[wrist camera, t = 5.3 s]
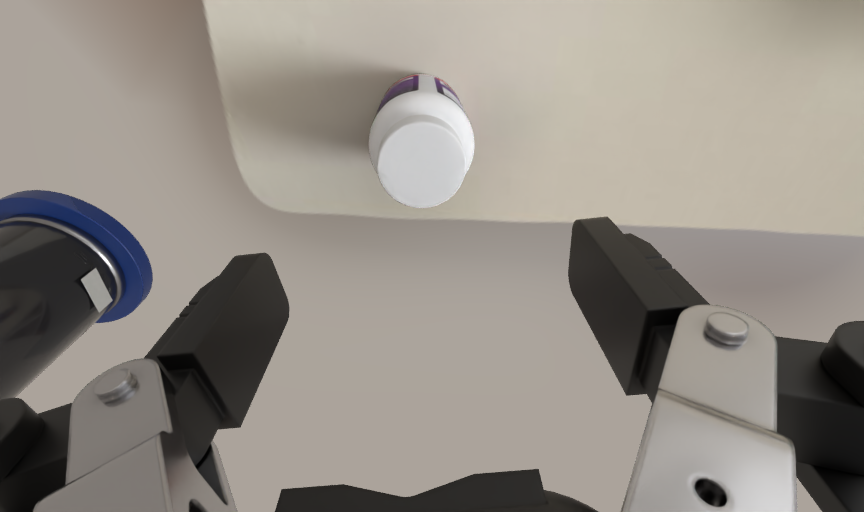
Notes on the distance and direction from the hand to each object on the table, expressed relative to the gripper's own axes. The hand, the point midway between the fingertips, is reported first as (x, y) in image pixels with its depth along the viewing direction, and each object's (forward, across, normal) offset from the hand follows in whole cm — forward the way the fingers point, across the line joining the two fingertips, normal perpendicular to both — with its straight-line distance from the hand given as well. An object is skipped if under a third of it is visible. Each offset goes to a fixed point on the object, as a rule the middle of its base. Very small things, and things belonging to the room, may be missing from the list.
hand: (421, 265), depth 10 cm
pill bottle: (+18, 0, 0) cm, 18 cm away
